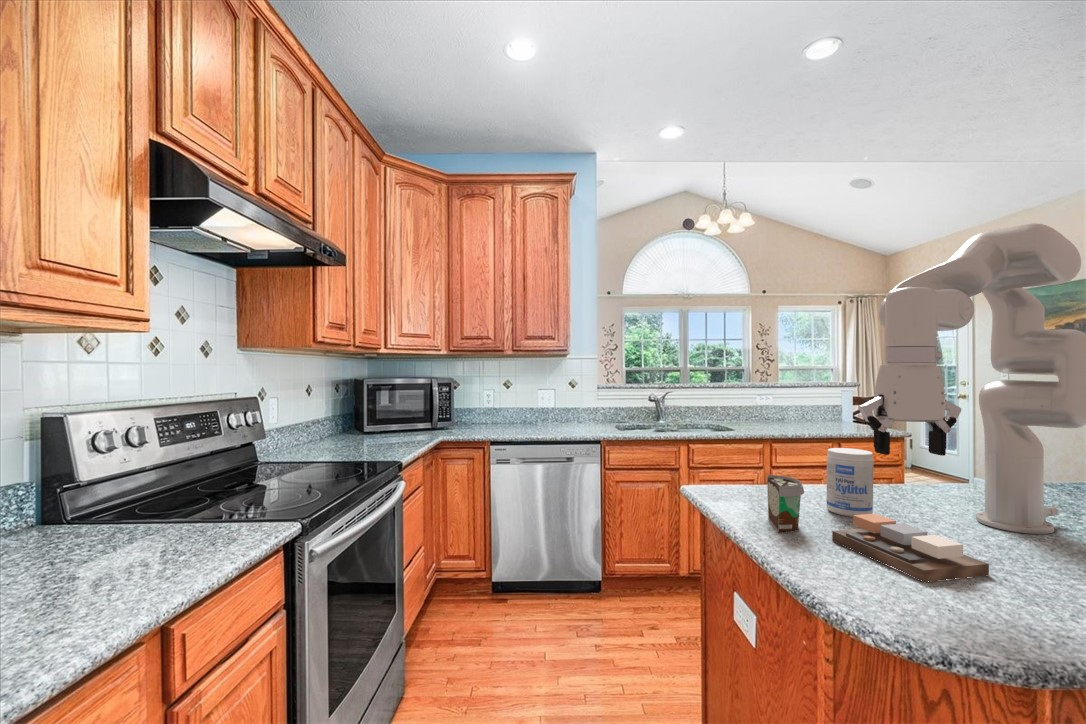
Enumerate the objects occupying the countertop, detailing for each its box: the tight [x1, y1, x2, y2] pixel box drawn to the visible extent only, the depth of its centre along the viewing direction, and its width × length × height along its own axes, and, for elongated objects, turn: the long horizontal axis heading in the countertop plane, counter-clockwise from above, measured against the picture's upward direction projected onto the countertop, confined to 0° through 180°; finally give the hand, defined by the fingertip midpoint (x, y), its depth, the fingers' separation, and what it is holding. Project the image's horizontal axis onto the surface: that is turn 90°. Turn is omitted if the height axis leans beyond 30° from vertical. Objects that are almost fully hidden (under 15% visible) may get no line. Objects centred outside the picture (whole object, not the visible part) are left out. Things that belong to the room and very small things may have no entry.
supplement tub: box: [825, 447, 874, 518], centre depth 123 cm, size 10×10×15 cm
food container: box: [766, 474, 805, 534], centre depth 113 cm, size 12×6×10 cm, turn 168°
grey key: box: [880, 522, 928, 545], centre depth 95 cm, size 5×5×2 cm
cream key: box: [912, 534, 964, 559], centre depth 88 cm, size 5×5×2 cm
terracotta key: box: [852, 513, 897, 533], centre depth 101 cm, size 5×5×2 cm
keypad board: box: [831, 528, 990, 583], centre depth 95 cm, size 13×20×3 cm, turn 11°
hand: (909, 453), depth 91 cm, fingers open, 9 cm apart
